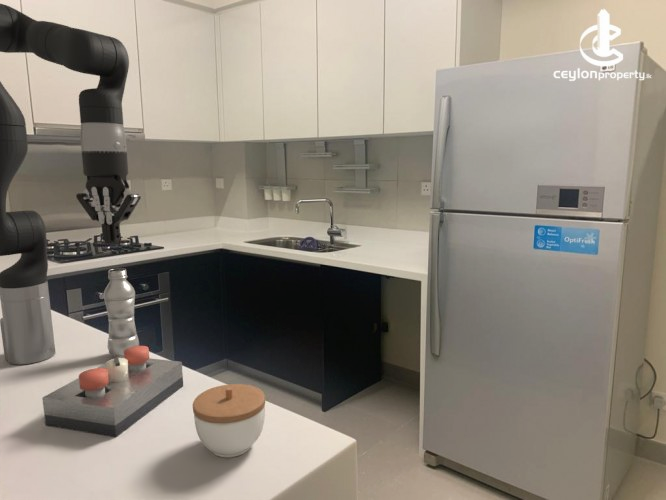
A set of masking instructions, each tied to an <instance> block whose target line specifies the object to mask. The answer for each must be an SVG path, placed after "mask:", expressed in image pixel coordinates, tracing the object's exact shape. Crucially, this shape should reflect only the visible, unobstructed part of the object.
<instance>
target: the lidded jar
mask: <svg viewBox="0 0 666 500" xmlns="http://www.w3.org/2000/svg"><path fill="white" fill-rule="evenodd" d="M265 404H266V396H265V393H264V392H263V390H261V389H260V388H259V387H257V386H253V385H250V384H244V383H230V384H229V383H228V384H222V385H218V386H214V387H211V388H209V389H207V390H205V391H203V392H201V393H199V394H198V395H197V396H196V397H195V398H194V400H193V402H192V410H193V411H192V412H193V418H194V425H195V431H196V434H197V436H198V438H199V440H200V442H201V444H203V446H205V448H207V450H209V451H211V453H212V454H213V455H215V456H217V457H220V458H235V457H236V458H237V457H239V456H241V455H243V454H246V453H247V452H248V451H249V450H250V449H251V448H252V446H253V445H254V444H255V443H256V441H258V439H259V437H260V436H261V434H262V432H263V427H264V423H265V416H266V411H265V410H266V408H265V407H266V405H265Z"/></svg>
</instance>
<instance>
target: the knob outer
mask: <svg viewBox="0 0 666 500" xmlns="http://www.w3.org/2000/svg"><path fill="white" fill-rule="evenodd" d="M78 378H79V384H80V389H82V390H85V396H86V398H91V399H98V398H99V397H101V396H103V395H104V394H105V386H106V385H108V383H109V379H108V370H107V369H104V368H98V367H96V368H95V367H94V368H91V369H86V370H84V371H82V372H80V373H79V375H78Z"/></svg>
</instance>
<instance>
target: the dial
mask: <svg viewBox="0 0 666 500" xmlns="http://www.w3.org/2000/svg"><path fill="white" fill-rule="evenodd" d="M105 363H106V369H107V370H108V379H109V382H121V381H124V380H126V379H127V378H128V360H127V359H125V358H118V357H113V358H112V359H109V360H107V361H106V362H105Z"/></svg>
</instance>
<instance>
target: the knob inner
mask: <svg viewBox="0 0 666 500" xmlns="http://www.w3.org/2000/svg"><path fill="white" fill-rule="evenodd" d="M124 358H125V359H127V360H128V364H129V371H135V372H141V371H143V370H144V369H146V361H148V360H149V358H150V349H149V347H148V346H147V345H139V346H134V347H130V348H127V349H125V350H124Z"/></svg>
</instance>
